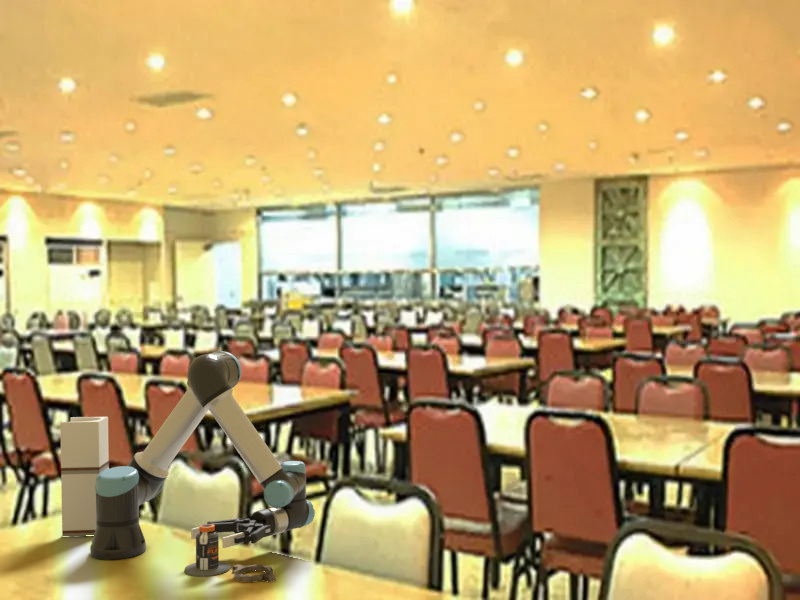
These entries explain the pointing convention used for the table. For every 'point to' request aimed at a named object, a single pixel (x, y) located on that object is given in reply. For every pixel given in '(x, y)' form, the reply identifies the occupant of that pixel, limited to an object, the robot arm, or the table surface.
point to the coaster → (220, 569)
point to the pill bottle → (207, 548)
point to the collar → (250, 578)
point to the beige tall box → (82, 471)
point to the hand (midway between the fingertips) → (207, 538)
